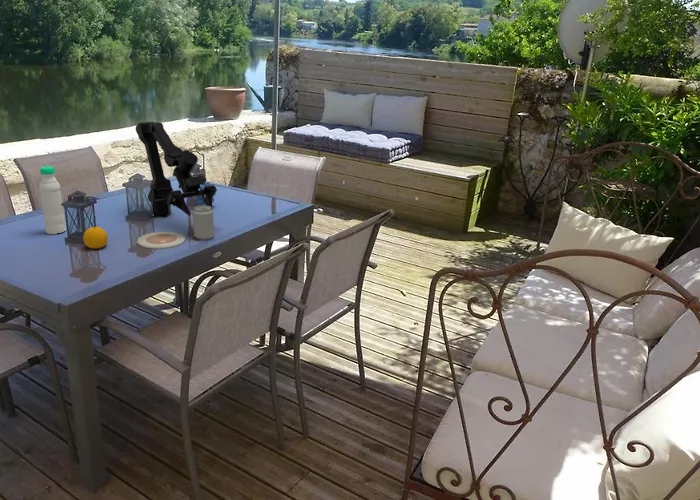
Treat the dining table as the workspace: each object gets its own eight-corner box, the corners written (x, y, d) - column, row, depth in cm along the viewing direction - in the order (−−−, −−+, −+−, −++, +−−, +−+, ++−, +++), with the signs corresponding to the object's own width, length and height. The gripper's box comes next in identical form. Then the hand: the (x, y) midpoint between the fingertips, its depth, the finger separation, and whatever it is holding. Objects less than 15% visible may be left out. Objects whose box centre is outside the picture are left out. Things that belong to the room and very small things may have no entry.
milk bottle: (70, 231, 219) (62, 166, 210) (54, 236, 213) (45, 170, 204) (57, 227, 222) (48, 164, 213) (41, 232, 216) (31, 167, 207)
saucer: (129, 247, 205) (129, 245, 205) (148, 232, 221) (148, 230, 221) (176, 250, 205) (176, 247, 204) (191, 235, 221) (191, 232, 220)
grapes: (208, 204, 261) (206, 178, 257) (219, 206, 258) (218, 180, 254) (190, 210, 252) (188, 183, 247) (202, 212, 249) (200, 185, 245)
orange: (82, 251, 200) (79, 230, 197) (87, 243, 207) (84, 223, 205) (106, 250, 202) (104, 230, 199) (110, 243, 209) (108, 223, 206)
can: (202, 241, 214) (201, 211, 210) (190, 237, 218) (188, 207, 214) (218, 237, 220) (217, 207, 216) (205, 232, 224) (204, 203, 220)
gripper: (168, 170, 209) (184, 205, 205) (213, 164, 221) (229, 198, 217) (160, 186, 217) (175, 221, 213) (204, 180, 229) (219, 213, 225)
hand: (200, 213), depth 217 cm, fingers open, 9 cm apart
